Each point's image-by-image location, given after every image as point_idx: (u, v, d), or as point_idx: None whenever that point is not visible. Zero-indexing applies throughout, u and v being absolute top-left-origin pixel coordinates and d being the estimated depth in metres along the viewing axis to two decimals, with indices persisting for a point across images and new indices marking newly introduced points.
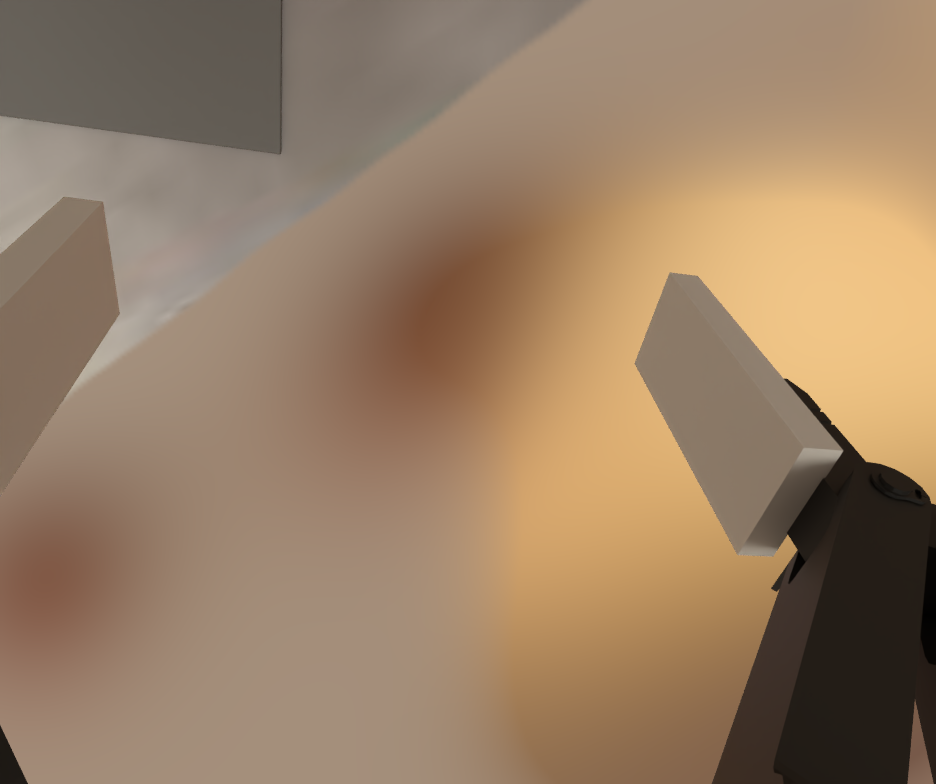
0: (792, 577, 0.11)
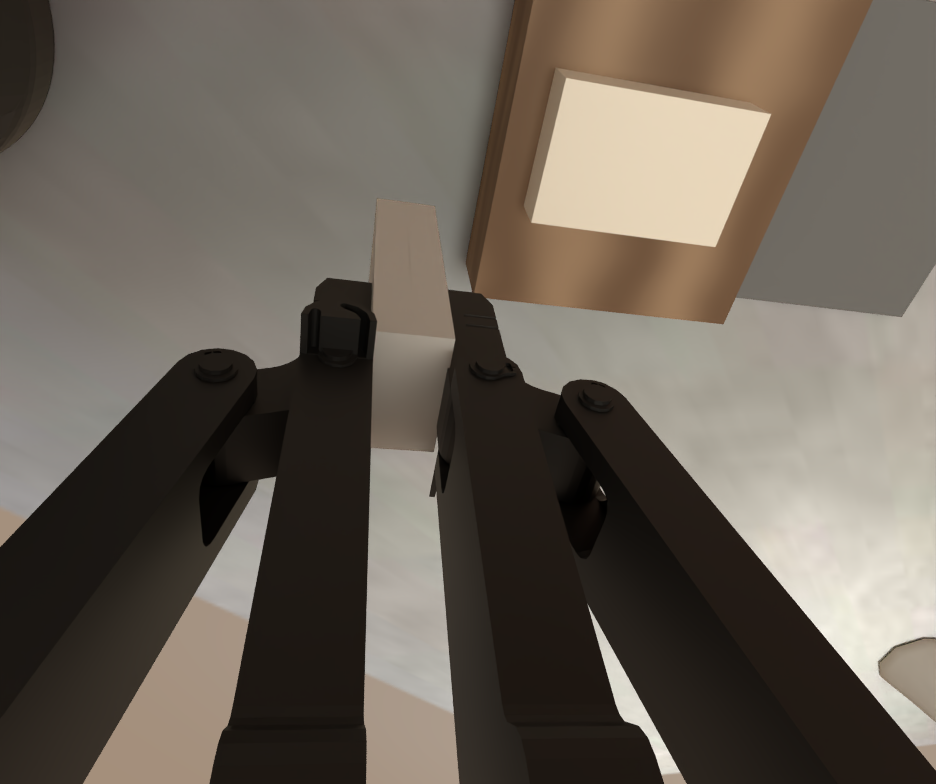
0: (443, 484, 0.12)
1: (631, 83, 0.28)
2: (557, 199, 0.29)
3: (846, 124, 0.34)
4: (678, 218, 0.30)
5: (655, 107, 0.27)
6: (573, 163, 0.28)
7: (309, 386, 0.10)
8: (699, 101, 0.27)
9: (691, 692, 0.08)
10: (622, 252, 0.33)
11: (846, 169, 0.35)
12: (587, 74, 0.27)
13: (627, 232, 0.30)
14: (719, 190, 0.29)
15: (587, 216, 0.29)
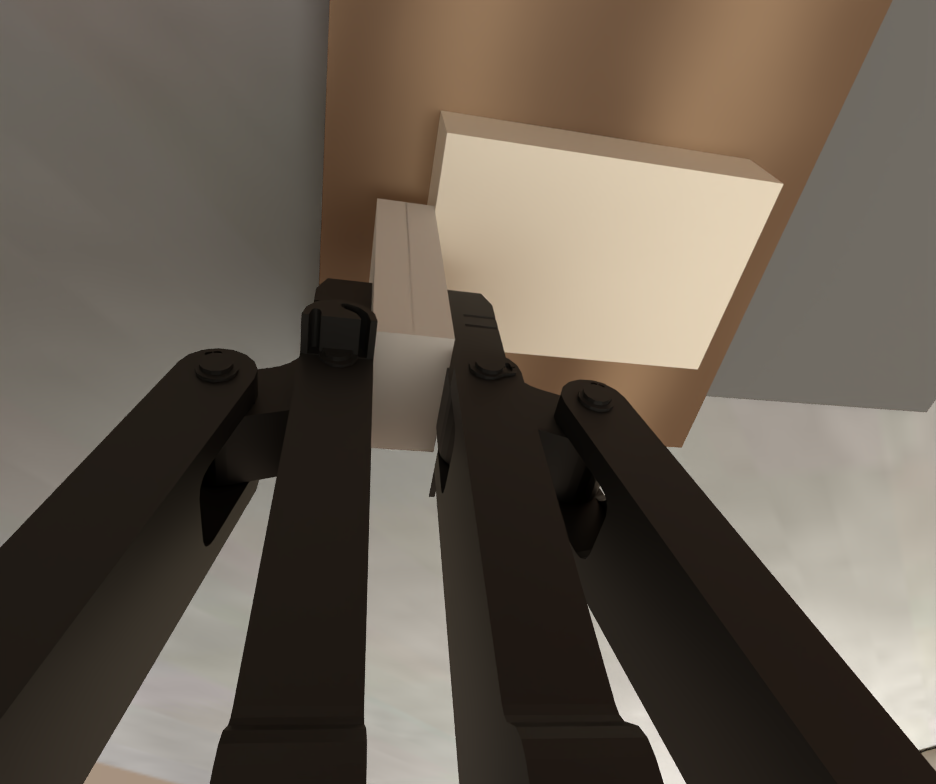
0: (443, 484, 0.12)
1: (562, 135, 0.17)
2: None
3: (853, 169, 0.23)
4: (642, 332, 0.20)
5: (598, 176, 0.17)
6: (472, 260, 0.18)
7: (309, 386, 0.10)
8: (669, 166, 0.17)
9: (691, 692, 0.08)
10: (527, 362, 0.22)
11: (853, 229, 0.25)
12: (491, 121, 0.17)
13: (564, 353, 0.20)
14: (702, 294, 0.19)
15: (500, 333, 0.19)
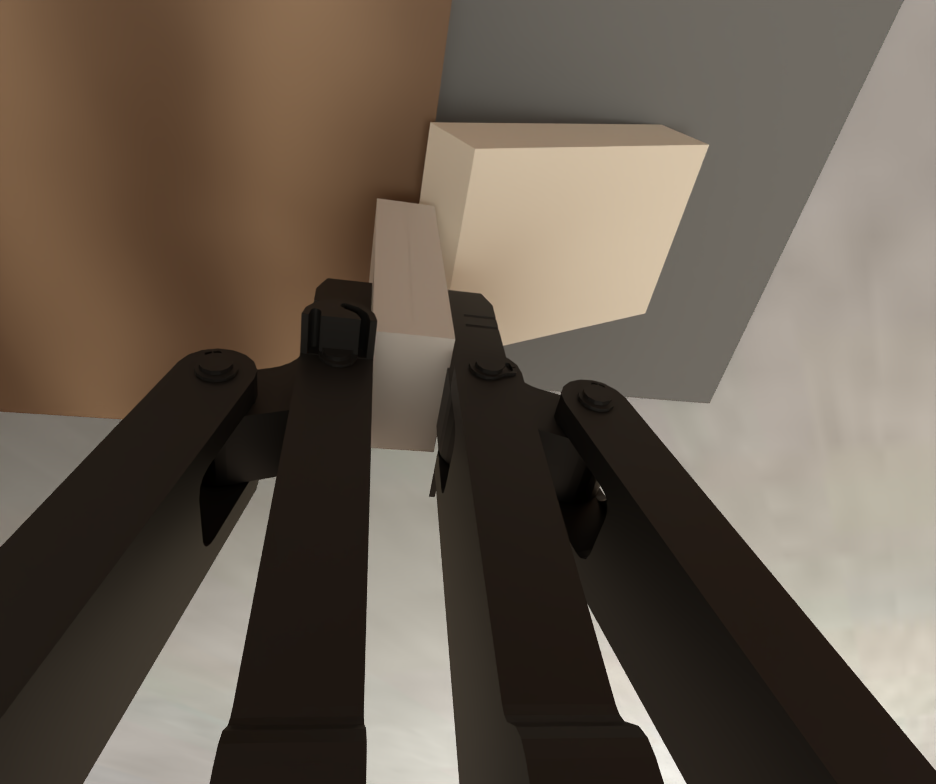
0: (443, 484, 0.12)
1: (538, 129, 0.18)
2: None
3: None
4: (610, 294, 0.22)
5: (589, 165, 0.18)
6: (489, 266, 0.18)
7: (309, 386, 0.10)
8: (637, 145, 0.19)
9: (691, 692, 0.08)
10: (177, 339, 0.20)
11: None
12: (479, 126, 0.17)
13: (555, 330, 0.21)
14: (652, 249, 0.22)
15: (508, 327, 0.20)
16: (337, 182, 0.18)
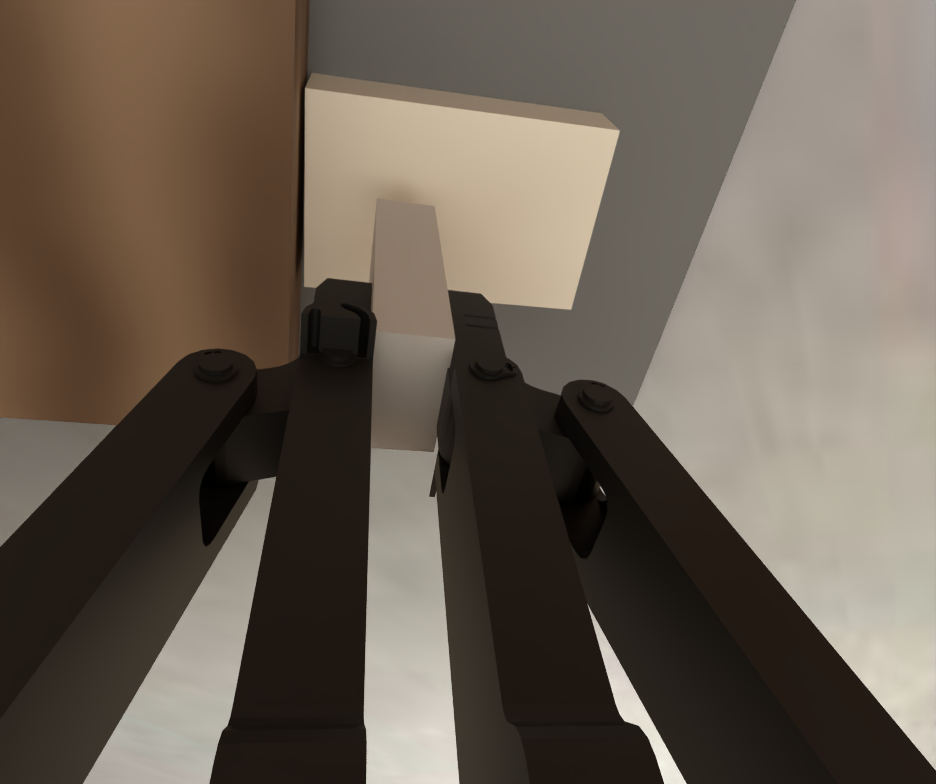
0: (443, 484, 0.12)
1: (421, 92, 0.19)
2: (333, 255, 0.21)
3: None
4: (512, 274, 0.22)
5: (447, 126, 0.19)
6: (345, 206, 0.20)
7: (309, 386, 0.10)
8: (511, 115, 0.19)
9: (691, 692, 0.08)
10: (46, 334, 0.20)
11: None
12: (356, 81, 0.19)
13: None
14: (563, 236, 0.21)
15: None
16: (196, 170, 0.17)
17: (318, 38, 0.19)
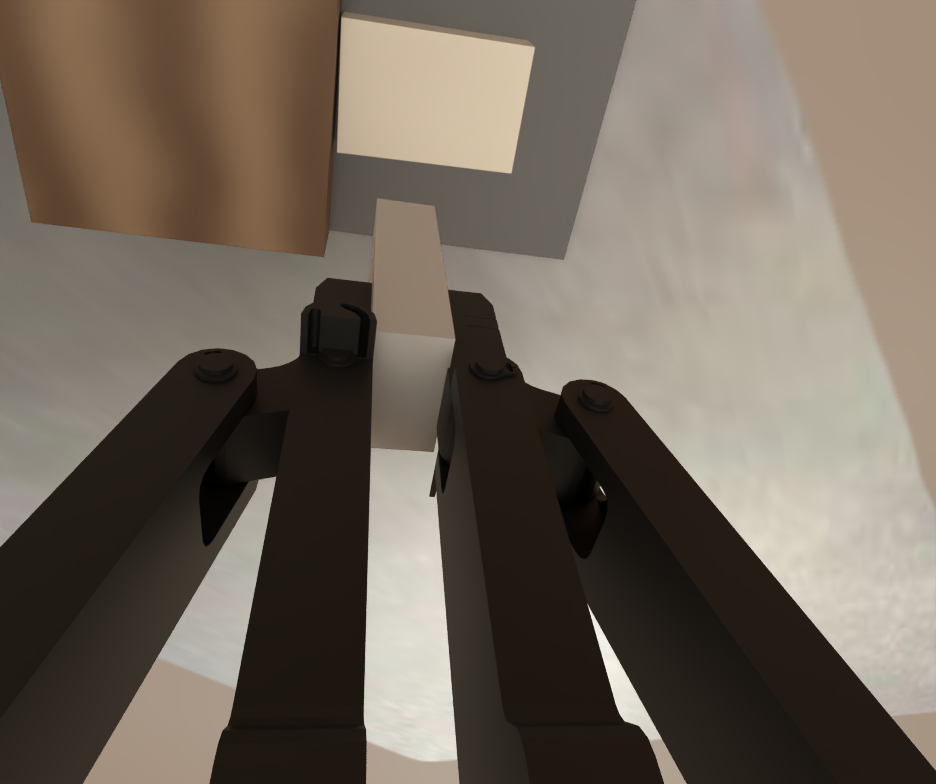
0: (443, 484, 0.12)
1: (412, 23, 0.31)
2: (356, 130, 0.33)
3: None
4: (471, 146, 0.34)
5: (427, 42, 0.31)
6: (364, 96, 0.32)
7: (309, 386, 0.10)
8: (467, 36, 0.31)
9: (691, 692, 0.08)
10: (178, 174, 0.31)
11: None
12: (371, 16, 0.31)
13: (427, 160, 0.34)
14: (503, 119, 0.33)
15: (386, 145, 0.33)
16: (277, 64, 0.29)
17: None
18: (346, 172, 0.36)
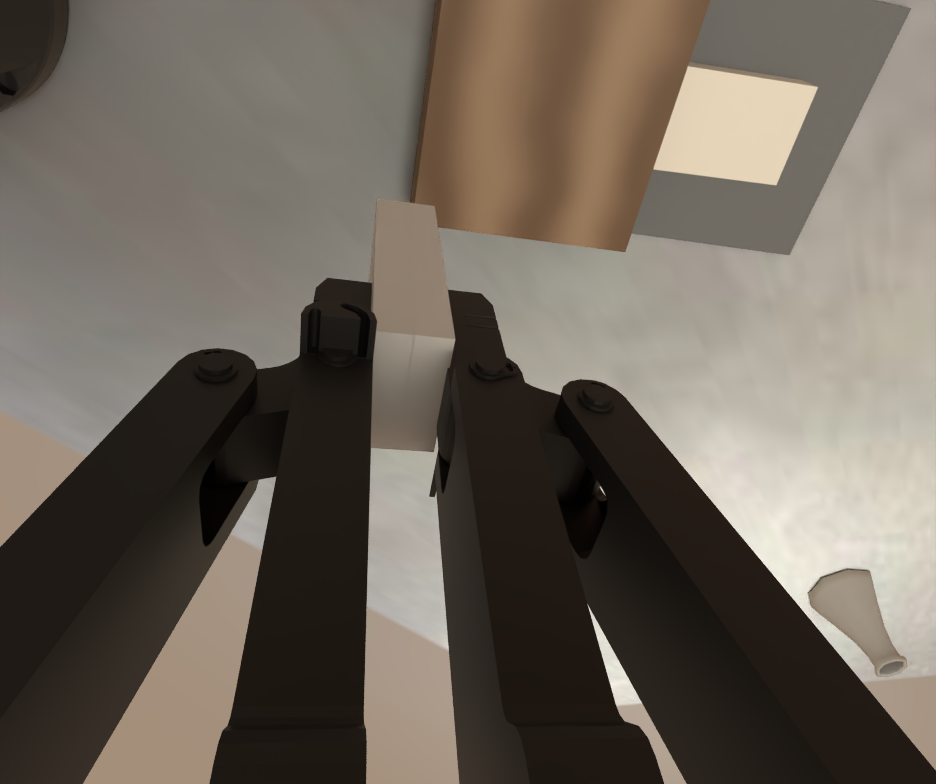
0: (443, 484, 0.12)
1: (719, 68, 0.40)
2: (666, 151, 0.41)
3: None
4: (750, 163, 0.42)
5: (738, 83, 0.39)
6: (679, 124, 0.40)
7: (309, 386, 0.10)
8: (768, 79, 0.39)
9: (691, 692, 0.08)
10: (534, 186, 0.40)
11: None
12: (689, 62, 0.40)
13: (713, 174, 0.42)
14: (780, 142, 0.41)
15: (686, 162, 0.41)
16: (634, 102, 0.37)
17: None
18: None
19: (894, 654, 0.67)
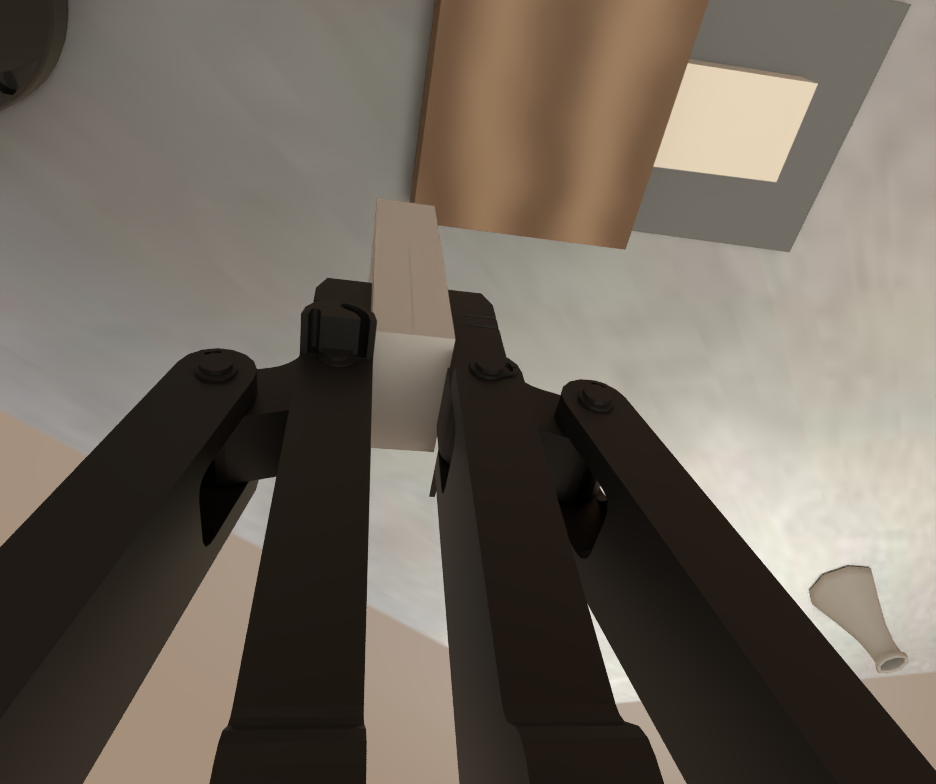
0: (443, 484, 0.12)
1: (719, 64, 0.40)
2: (666, 148, 0.41)
3: None
4: (751, 160, 0.42)
5: (738, 80, 0.39)
6: (679, 121, 0.40)
7: (309, 386, 0.10)
8: (768, 75, 0.39)
9: (691, 692, 0.08)
10: (534, 184, 0.40)
11: None
12: (689, 59, 0.40)
13: (713, 172, 0.42)
14: (780, 139, 0.41)
15: (686, 160, 0.41)
16: (634, 99, 0.37)
17: None
18: None
19: (895, 650, 0.67)
